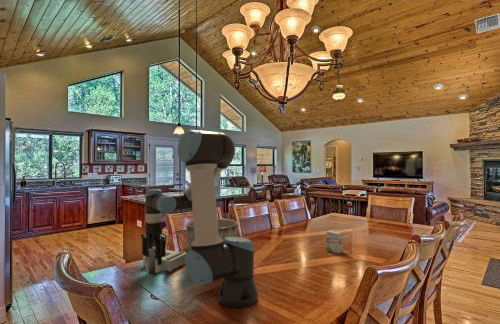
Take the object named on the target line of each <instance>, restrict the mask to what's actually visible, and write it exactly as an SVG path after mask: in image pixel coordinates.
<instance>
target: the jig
mask: <svg viewBox="0 0 500 324" xmlns="http://www.w3.org/2000/svg"><path fill="white" fill-rule="evenodd" d="M186 254H187V252H184V251H177V250H169V249H166V252H165V256H164V257H162V264H161V269H162V270H161V271H165V270H168V271H167V272H173V271H174V270H176V269H178V268H179V266H180V267H181V265H182V266H184V265H185V257H186ZM143 266H145V267H144V268H147V263H146V257H145V255H143V257H142V267H143ZM175 268H176V269H175ZM173 269H174V270H173Z"/></svg>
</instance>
